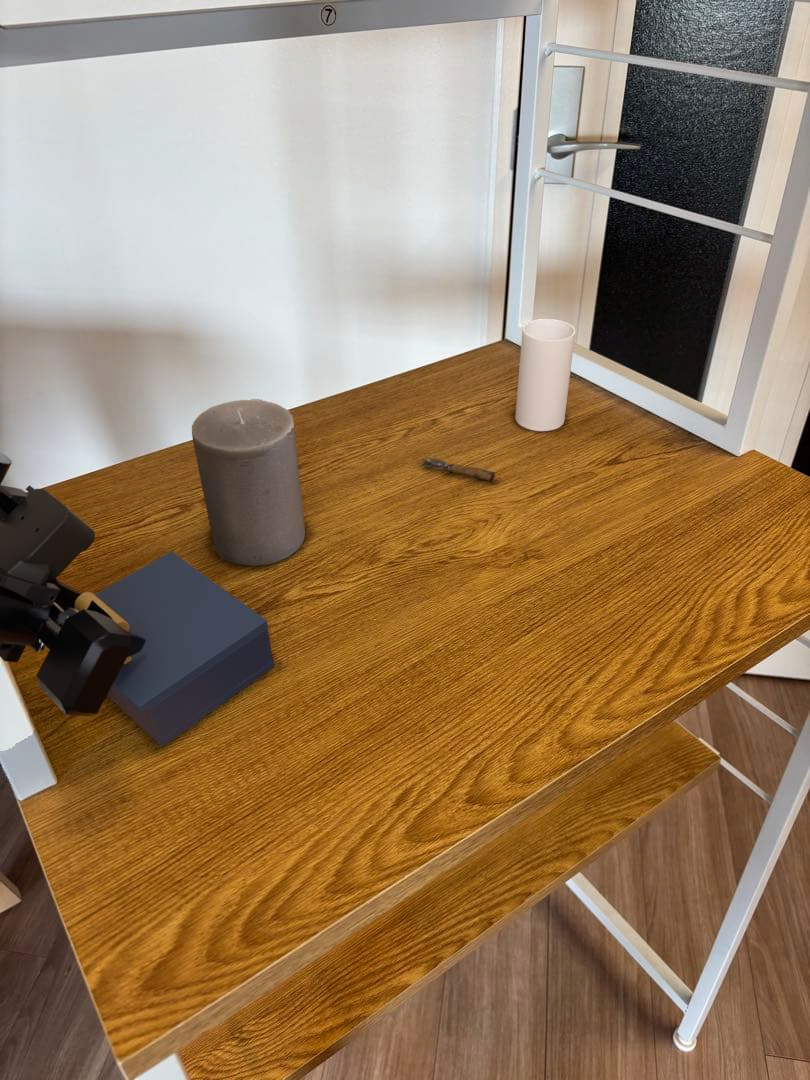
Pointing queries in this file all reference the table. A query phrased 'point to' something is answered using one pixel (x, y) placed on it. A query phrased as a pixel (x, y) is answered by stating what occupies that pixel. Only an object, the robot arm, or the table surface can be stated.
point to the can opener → (461, 469)
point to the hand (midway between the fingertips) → (124, 628)
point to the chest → (202, 691)
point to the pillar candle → (250, 481)
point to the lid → (172, 626)
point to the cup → (544, 374)
